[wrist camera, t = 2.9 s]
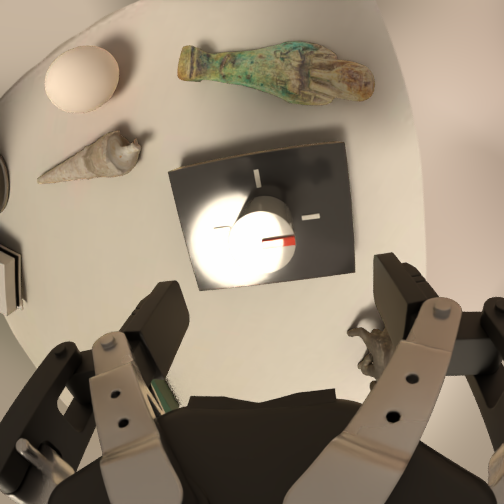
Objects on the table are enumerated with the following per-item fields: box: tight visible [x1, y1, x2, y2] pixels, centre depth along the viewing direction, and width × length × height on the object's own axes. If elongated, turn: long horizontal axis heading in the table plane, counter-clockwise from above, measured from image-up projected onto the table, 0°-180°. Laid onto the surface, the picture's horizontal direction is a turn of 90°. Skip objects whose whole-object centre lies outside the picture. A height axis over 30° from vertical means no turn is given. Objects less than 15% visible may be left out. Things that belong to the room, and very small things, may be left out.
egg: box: [45, 46, 119, 113], centre depth 18 cm, size 6×6×8 cm
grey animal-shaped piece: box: [347, 326, 395, 390], centre depth 28 cm, size 12×6×7 cm, turn 18°
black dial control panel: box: [168, 141, 355, 291], centre depth 25 cm, size 14×11×3 cm
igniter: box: [151, 379, 179, 413], centre depth 36 cm, size 11×9×4 cm
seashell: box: [37, 130, 141, 184], centre depth 24 cm, size 4×16×4 cm, turn 101°
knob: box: [229, 196, 296, 274], centre depth 21 cm, size 4×4×5 cm
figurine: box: [178, 41, 375, 105], centre depth 19 cm, size 6×15×4 cm, turn 77°
